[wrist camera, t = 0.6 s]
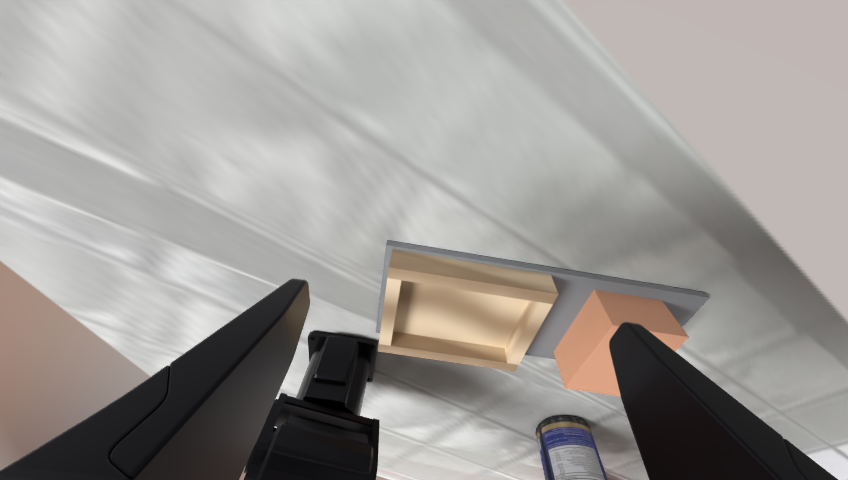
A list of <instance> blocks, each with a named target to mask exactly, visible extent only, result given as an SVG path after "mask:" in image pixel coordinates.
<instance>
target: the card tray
mask: <svg viewBox="0 0 848 480" xmlns="http://www.w3.org/2000/svg"><path fill="white" fill-rule="evenodd" d="M558 295H559V294H558V292H557V289H556V287H555V284H554V282H553V279H552V276H551V275H550V274H544V273H538V272H532V271H526V270H520V269H513V268H507V267H501V266H495V265H489V264H483V263H477V262H471V261H464V260H458V259H452V258H446V257H440V256H434V255H428V254H421V253H415V252H409V251H403V250H397V249H393V250H392V254H391V259H390V264H389V269H388V276H387V284H386V291H385V299H384V307H383V314H382V322H381V330H380V337H379V345H378V351H379V352H386V353H393V354H399V355H406V356H413V357H420V358H427V359H433V360H440V361H447V362H454V363H461V364H468V365H474V366H481V367H488V368H495V369H502V370H508V371H515V370H516V369H517V367H518V365H519V363H520V362H521V360H522V358H523V356H524V355H525V353H526V351H527V349H528V347H529V346H530V344H531V342H532V340H533V339H534V337H535V335H536V333H537V332H538V330H539V328H540V326H541V325H542V323H543V321H544V319H545V318H546V316H547V314H548V312H549V310H550V309H551V307H552V305H553V303H554V302H555V300H556V298H557V296H558Z"/></svg>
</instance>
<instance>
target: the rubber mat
mask: <svg viewBox="0 0 848 480" xmlns="http://www.w3.org/2000/svg"><path fill="white" fill-rule="evenodd" d="M393 249H397V250H403V251H409V252H415V253H421V254H428V255H434V256H440V257H446V258H452V259H458V260H464V261H471V262H477V263H483V264H489V265H495V266H501V267H507V268H513V269H520V270H526V271H532V272H538V273H544V274H550V275H551V276H552V279H553V282H554V284H555V287H556V289H557V292H558V294H559V295H558V296H557V298H556V300H555V302H554V303H553V305H552V307H551V309H550V310H549V312H548V314H547V316H546V318H545V319H544V321H543V323H542V325H541V326H540V328H539V330H538V332H537V333H536V335H535V337H534V339H533V340H532V342H531V344H530V346H529V347H528V349H527V351H526V353H525V355H531V356H537V357H544V358H551V359H556V358H555V355H554V350H555V349H556V347H557V346H558V344H559V343H560V341H561V340H562V338H563V336H564V335H565V333H566V332H567V330H568V329H569V327H570V326H571V324H572V323H573V321H574V320H575V318H576V316H577V315H578V313H579V312H580V310H581V309H582V307H583V306H584V304H585V303H586V301H587V299H588V298H589V296H590V295H591V293H592V292H593V290H594V289H595V290H601V291H607V292H613V293H619V294H625V295H632V296H638V297H644V298H650V299H656V300H662V301H663V303H664V304H665V305H666V307H667V308H668V310H669V311H670V312H671V314H672V315H673V316H674V318H675V319H676V320H677V322H678V323H679V324H680V326H681V327H682V326H683V325H684V324H685V323H686V322H687V321H688V320H689V319H690V318H691V317H692V316H693V315H694V314H695V313H696V312H697V311H698V309H699V308H700V307H701V306H702V305H703V304H704V303H705V302H706V301H707V300H708V299H709V297H708V296H707V294H706V293H705V292H700V291H694V290H688V289H681V288H675V287H669V286H663V285H657V284H651V283H645V282H639V281H633V280H627V279H620V278H614V277H608V276H602V275H596V274H590V273H584V272H578V271H572V270H566V269H560V268H553V267H547V266H541V265H535V264H529V263H523V262H517V261H511V260H505V259H499V258H493V257H486V256H480V255H474V254H468V253H462V252H456V251H450V250H444V249H438V248H432V247H425V246H419V245H413V244H407V243H401V242H395V241H389V240H387V244H386V252H385V260H384V269H383V277H382V285H381V294H380V302H379V311H378V319H377V327H376V332H377V333H380V330H381V322H382V314H383V307H384V299H385V291H386V284H387V276H388V269H389V264H390V259H391V254H392V250H393Z"/></svg>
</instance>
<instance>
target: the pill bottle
mask: <svg viewBox="0 0 848 480" xmlns="http://www.w3.org/2000/svg"><path fill="white" fill-rule="evenodd" d="M536 436H537V442H538V447H539V451H540V456H541V461H542V466H543V470H544V475H545V479H546V480H607V477H606V474H605V471H604V468H603V465H602V462H601V460H600V457H599V454H598V451H597V448H596V445H595V442H594V439H593V436H592V433H591V431H590V429H589V426H588V424H587V423H586V422H585V421H584V420H582V419H580V418H578V417H573V416H555V417H551V418H548V419H545V420H544V421H542V422H541V423H540V424H539V425H538V427H537V428H536Z"/></svg>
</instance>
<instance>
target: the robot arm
mask: <svg viewBox="0 0 848 480" xmlns="http://www.w3.org/2000/svg"><path fill="white" fill-rule="evenodd" d="M309 305H310V298H309V287H308V282H307V281H306V280H301V279H291V280H289V281H288V282H286V283H285V284H283V285H282V286H280V287H279V288H278V289H276V290H275V291H273V292H272V293H270V294H269V295H268V296H266V297H265V298H263V299H262V300H260V301H259V302H257V303H256V304H255V305H253V306H252V307H250V308H249V309H247V310H246V311H245V312H243V313H242V314H240V315H239V316H237V317H236V318H235V319H233V320H232V321H230V322H229V323H227V324H226V325H225V326H223V327H222V328H220V329H219V330H217V331H216V332H215V333H213V334H212V335H210V336H209V337H207V338H206V339H205V340H203V341H202V342H200V343H199V344H197V345H196V346H195V347H193V348H192V349H190V350H189V351H187V352H186V353H185V354H183V355H182V356H180V357H179V358H177V359H176V360H175V361H173V362H172V363H171V364H170V366H166V367H164V368H163V369H161V370H160V371H159V372H157V373H156V374H154V375H153V376H151V377H150V378H149V379H147V380H146V381H144V382H143V383H141V384H140V385H138V386H137V387H135V388H134V389H132V390H131V391H129V392H128V393H126V394H125V395H123V396H122V397H120V398H118V399H117V400H115V401H114V402H112V403H110V404H109V405H107V406H106V407H104V408H102V409H101V410H99V411H98V412H96V413H94V414H93V415H91V416H90V417H88V418H87V419H85V420H83V421H81V422H80V423H78V424H76V425H75V426H73V427H72V428H70V429H68V430H67V431H65V432H63V433H62V434H60V435H58V436H57V437H55V438H53V439H52V440H50V441H48V442H47V443H45V444H43V445H42V446H40V447H39V448H37V449H35V450H34V451H32V452H30V453H29V454H27V455H25V456H24V457H22V458H20V459H19V460H17V461H15V462H14V463H12V464H11V465H9V466H7V467H5V468H4V469H2V470H0V480H239V478H240V476H241V474H242V472H243V470H244V467H246V468H245V470H244V473H246V475H245V478H244V480H376V474H377V466H378V443H379V420H377V419H374V418H373V419H369V418H366V417H362V416H360V412H361V407H362V402H363V398H364V393H365V388H366V383H367V382H371V381H372V380H373V375H374V367H375V360H376V352H377V342H376V341H373V340H367V339H361V338H354V337H347V336H340V335H334V334H327V333H320V332H310V333H309V336H308V347H309V361H310V363H309V366H308V368H307V371H306V373H305V376H304V379H303V381H302V384H301V386H300V389H299V392H298V394H297V397H296V398H294V397H291V396H287V394H284V393H281V394H280V396H279V399H276V400H275V398H276V396H277V394H278V392H279V389H280V387H281V385H282V383H283V380H284V378H285V376H286V374H287V371H288V369H289V367H290V365H291V362H292V360H293V357H294V354H295V351H296V348H297V345H298V342H299V338H300V335H301V332H302V329H303V326H304V323H305V319H306V316H307V313H308V310H309ZM609 349H610V354H611V358H612V362H613V366H614V370H615V375H616V379H617V383H618V387H619V391H620V395H621V399H622V402H623V405H624V408H625V411H626V414H627V417H628V420H629V422H630V425H631V428H632V431H633V434H634V437H635V440H636V443H637V445H638V448H639V451H640V454H641V457H642V460H643V463H644V466H645V468H646V471H647V474H648V477H649V480H838V479H836V478H835V477H834V476H832V475H831V474H830V473H829V472H827V471H826V470H825V469H823V468H822V467H821V466H820V465H818V464H817V463H816V462H814V461H813V460H812V459H810V458H809V457H808V456H807V455H805V454H804V453H803V452H802V451H800V450H799V449H798V448H796V447H795V446H794V445H793V444H791V443H790V442H789V441H788V440H786V439H783V437H782V436H781V435H780V434H779V433H777V432H776V431H775V430H774V429H772V428H771V427H770V426H769V425H767V424H766V423H765V422H763V421H762V420H761V419H760V418H758V417H757V416H756V415H755V414H753V413H752V412H751V411H750V410H748V409H747V408H746V407H744V406H743V405H742V404H741V403H739V402H738V401H737V400H736V399H734V398H733V397H732V396H730V395H729V394H728V393H727V392H725V391H724V390H723V389H722V388H720V387H719V386H718V385H717V384H715V383H714V382H713V381H711V380H710V379H709V378H708V377H706V376H705V375H704V374H703V373H701V372H700V371H699V370H698V369H696V368H695V367H694V366H692V365H691V364H690V363H689V362H687V361H686V360H685V359H684V358H682V357H681V356H680V355H679V354H677V353H676V352H675V351H673V350H672V349H671V348H670V347H668V346H667V345H666V344H665V343H663V342H662V341H661V340H660V339H658V338H657V337H656V336H654V335H653V334H652V333H651V332H649V331H648V330H647V329H646V328H644V327H643V326H642V325H640V324H638V323H631V322H623V323H622V324H621V325H620V326H619V327H618V329H617V330H616V332H615V333H614V334H613V336H612V337H611V339H610V341H609ZM274 426H276V427H277V428H274Z"/></svg>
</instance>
